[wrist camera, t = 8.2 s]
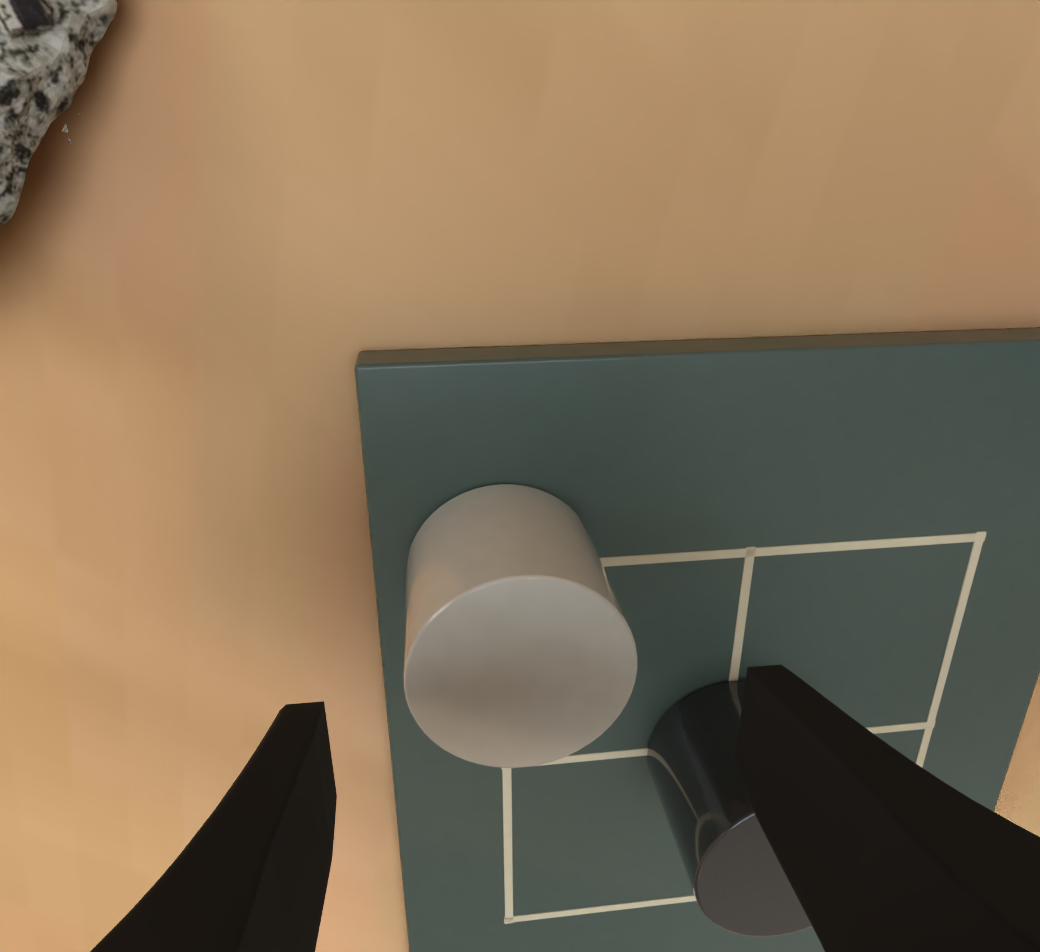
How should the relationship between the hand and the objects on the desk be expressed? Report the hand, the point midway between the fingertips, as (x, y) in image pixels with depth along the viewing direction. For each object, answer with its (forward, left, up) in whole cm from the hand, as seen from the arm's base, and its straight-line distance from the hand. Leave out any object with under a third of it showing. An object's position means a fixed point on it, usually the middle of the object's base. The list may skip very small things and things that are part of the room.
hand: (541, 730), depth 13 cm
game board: (-6, +6, -7) cm, 11 cm away
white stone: (0, 0, -5) cm, 5 cm away
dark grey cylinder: (-6, +6, -5) cm, 10 cm away
